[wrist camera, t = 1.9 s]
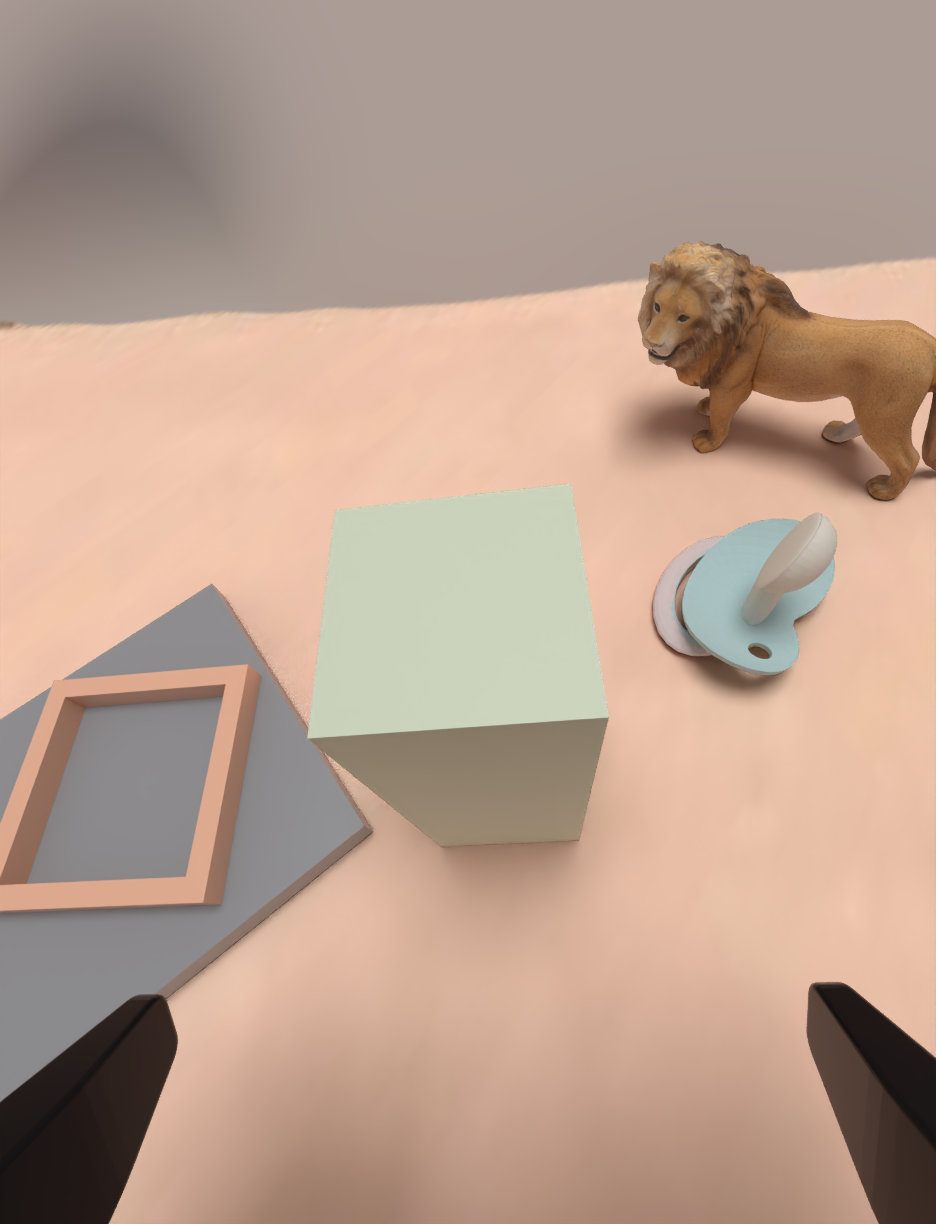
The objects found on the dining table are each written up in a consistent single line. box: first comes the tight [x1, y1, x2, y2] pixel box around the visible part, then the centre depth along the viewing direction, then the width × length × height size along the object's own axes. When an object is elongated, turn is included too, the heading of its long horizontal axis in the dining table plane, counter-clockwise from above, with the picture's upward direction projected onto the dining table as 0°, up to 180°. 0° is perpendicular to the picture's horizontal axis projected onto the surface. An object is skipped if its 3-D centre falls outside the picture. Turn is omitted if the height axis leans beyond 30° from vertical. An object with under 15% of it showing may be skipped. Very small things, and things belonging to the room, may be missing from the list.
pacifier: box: [653, 513, 837, 675], centre depth 21 cm, size 7×6×6 cm
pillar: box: [307, 484, 609, 847], centre depth 16 cm, size 5×5×13 cm
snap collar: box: [0, 664, 261, 913], centre depth 22 cm, size 9×9×1 cm
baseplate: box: [0, 584, 373, 1101], centre depth 22 cm, size 20×14×2 cm
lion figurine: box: [638, 241, 936, 500], centre depth 24 cm, size 15×5×9 cm, turn 68°
